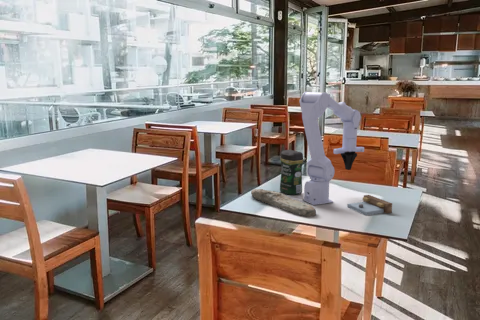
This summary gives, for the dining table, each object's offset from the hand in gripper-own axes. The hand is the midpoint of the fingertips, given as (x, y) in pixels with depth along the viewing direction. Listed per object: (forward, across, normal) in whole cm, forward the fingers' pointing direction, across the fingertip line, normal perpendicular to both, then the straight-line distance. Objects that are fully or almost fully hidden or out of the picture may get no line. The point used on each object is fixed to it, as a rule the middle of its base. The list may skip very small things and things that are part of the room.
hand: (348, 169), depth 185 cm
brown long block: (+10, -3, -22) cm, 25 cm away
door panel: (+11, -8, -22) cm, 26 cm away
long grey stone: (+11, -35, -4) cm, 37 cm away
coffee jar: (+11, -22, +10) cm, 26 cm away
